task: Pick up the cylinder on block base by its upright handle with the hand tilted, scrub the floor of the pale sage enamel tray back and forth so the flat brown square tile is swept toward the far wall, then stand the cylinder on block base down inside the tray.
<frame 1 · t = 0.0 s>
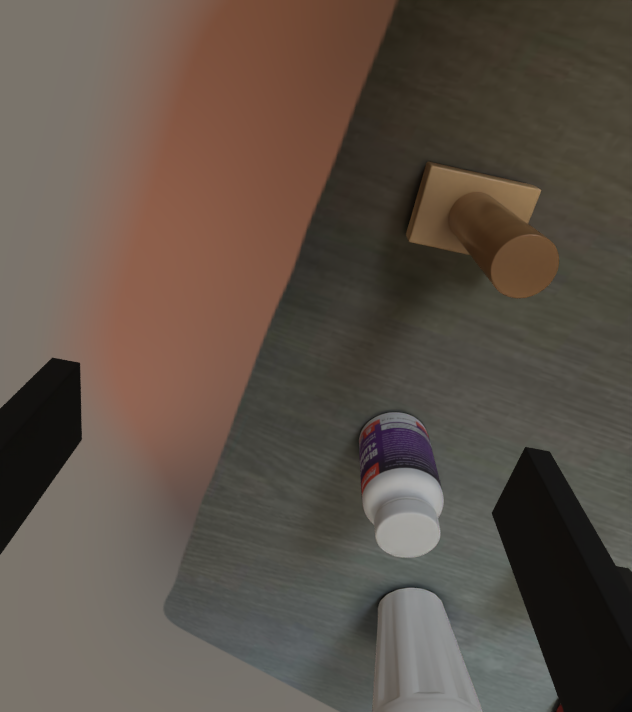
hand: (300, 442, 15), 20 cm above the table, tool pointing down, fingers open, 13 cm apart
pill bottle: (392, 436, 40), on the table
cup: (409, 603, 49), on the table
cylinder on block base: (464, 207, 31), on the table
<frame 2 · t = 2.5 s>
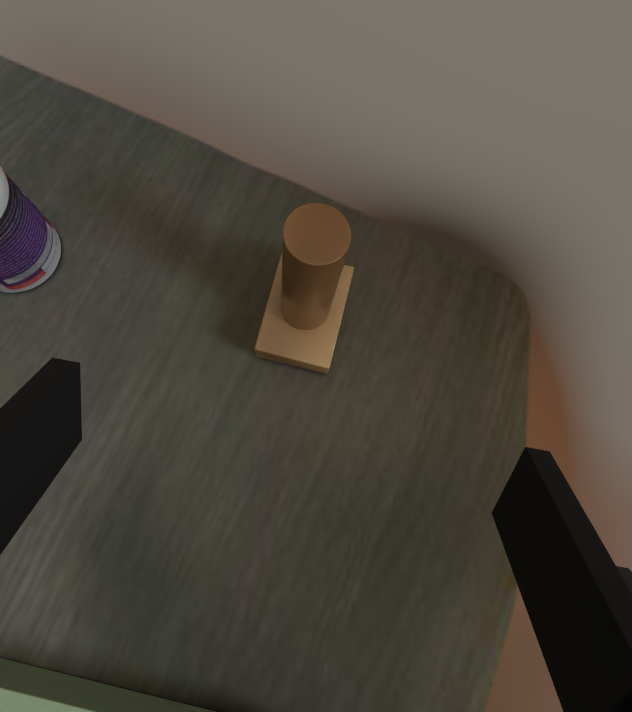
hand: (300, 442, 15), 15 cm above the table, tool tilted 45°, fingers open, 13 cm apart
pill bottle: (19, 255, 32), on the table
cylinder on block base: (303, 319, 32), on the table
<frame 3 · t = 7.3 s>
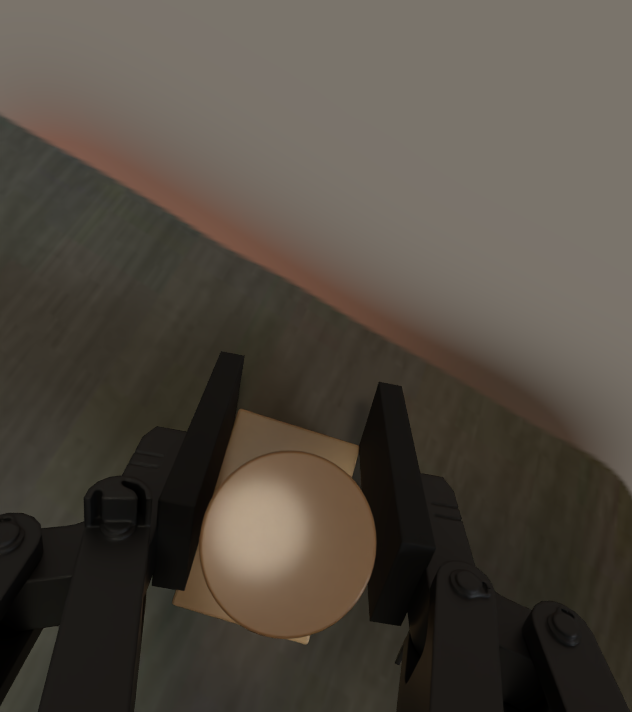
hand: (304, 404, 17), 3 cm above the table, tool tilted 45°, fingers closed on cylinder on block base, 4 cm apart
cylinder on block base: (269, 518, 19), on the table, touching gripper
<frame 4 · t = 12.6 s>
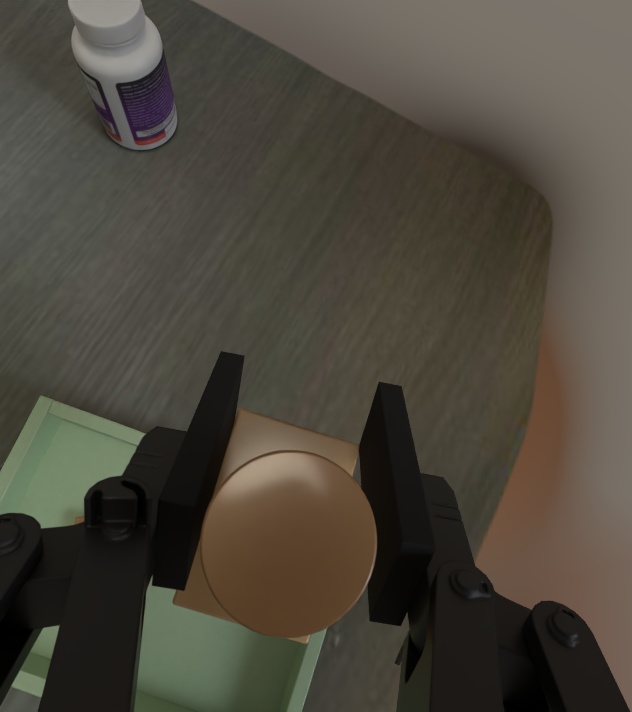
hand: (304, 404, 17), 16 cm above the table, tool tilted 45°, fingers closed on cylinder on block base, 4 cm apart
pill bottle: (141, 123, 38), on the table
cylinder on block base: (269, 517, 19), point 13 cm above the table, touching gripper
tray: (161, 568, 30), on the table
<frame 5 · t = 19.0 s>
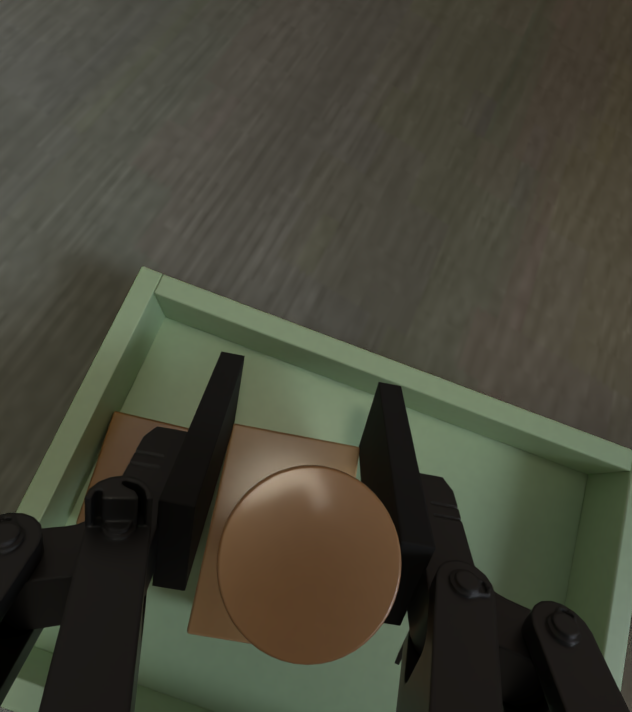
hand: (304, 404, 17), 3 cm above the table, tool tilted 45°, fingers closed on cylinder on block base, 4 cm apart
flat brown square tile: (155, 479, 19), resting on tray
cylinder on block base: (275, 531, 18), point 1 cm above the table, touching gripper, tray
tray: (326, 546, 19), on the table
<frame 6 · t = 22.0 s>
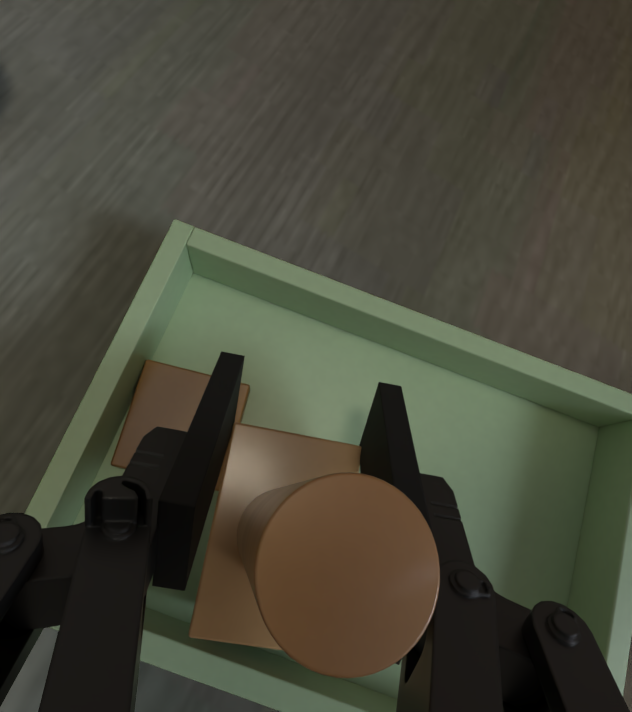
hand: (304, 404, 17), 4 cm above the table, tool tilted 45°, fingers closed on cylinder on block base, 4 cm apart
flat brown square tile: (185, 426, 19), point 1 cm above the table, touching cylinder on block base, tray
cylinder on block base: (274, 530, 18), point 1 cm above the table, touching flat brown square tile, gripper
tray: (349, 492, 20), on the table
when the fingers open (3 cm above the table, at t = 23.6 s): cylinder on block base stays where it is, resting on tray.
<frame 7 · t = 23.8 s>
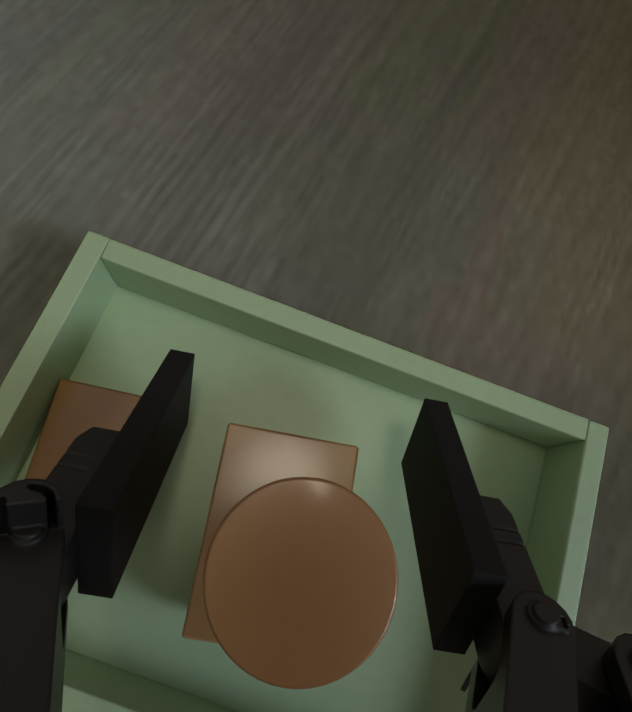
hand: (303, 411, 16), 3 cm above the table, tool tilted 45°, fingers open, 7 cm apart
flat brown square tile: (104, 447, 18), resting on tray
cylinder on block base: (273, 531, 18), resting on tray
tray: (278, 518, 19), on the table
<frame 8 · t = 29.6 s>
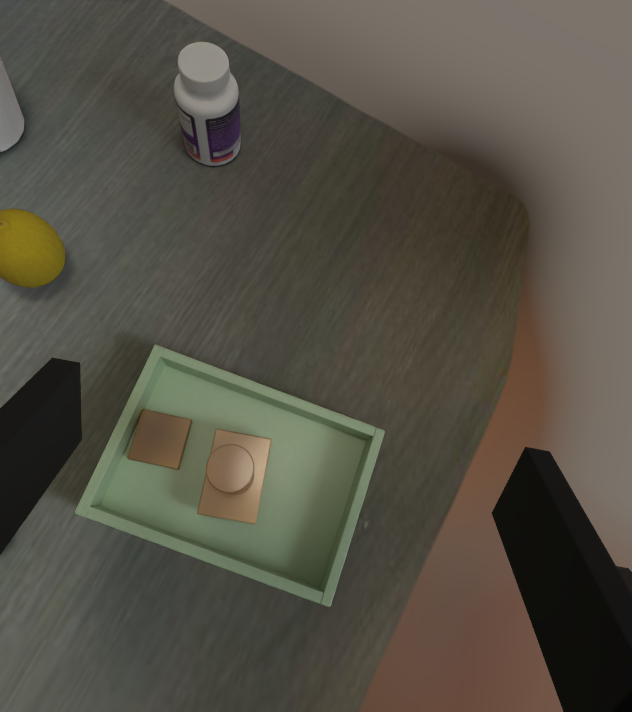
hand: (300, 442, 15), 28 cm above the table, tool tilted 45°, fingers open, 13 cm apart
pill bottle: (213, 145, 50), on the table
flat brown square tile: (161, 439, 41), resting on tray
cylinder on block base: (236, 476, 41), resting on tray
lemon: (45, 272, 44), on the table
tray: (239, 471, 41), on the table
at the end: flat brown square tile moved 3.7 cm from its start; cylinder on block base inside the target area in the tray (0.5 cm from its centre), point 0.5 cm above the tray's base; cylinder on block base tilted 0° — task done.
